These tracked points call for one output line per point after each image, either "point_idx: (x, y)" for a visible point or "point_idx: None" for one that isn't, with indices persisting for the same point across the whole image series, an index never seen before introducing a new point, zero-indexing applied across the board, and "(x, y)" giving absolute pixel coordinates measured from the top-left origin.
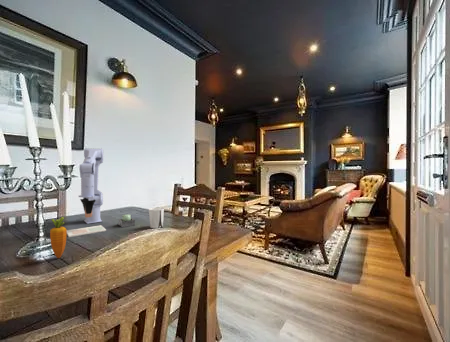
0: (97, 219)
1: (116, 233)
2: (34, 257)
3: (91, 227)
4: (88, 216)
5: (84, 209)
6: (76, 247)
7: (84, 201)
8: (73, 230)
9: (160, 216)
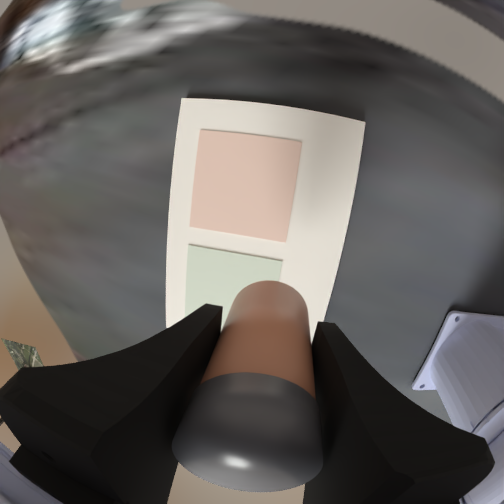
0: (434, 376)
1: (93, 325)
2: (40, 8)
3: (303, 291)
4: (231, 307)
5: (325, 344)
6: (21, 123)
7: (6, 386)
8: (321, 162)
9: (1, 417)
